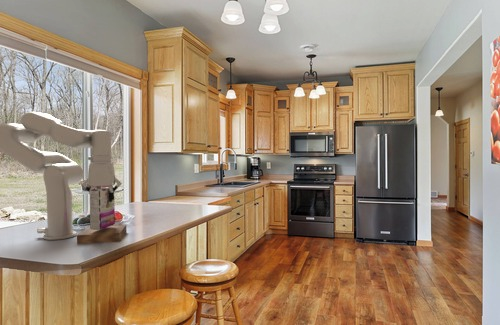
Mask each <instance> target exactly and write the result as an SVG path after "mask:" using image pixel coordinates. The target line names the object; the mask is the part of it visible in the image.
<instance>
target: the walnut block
mask: <svg viewBox="0 0 500 325" xmlns="http://www.w3.org/2000/svg"><path fill="white" fill-rule="evenodd" d="M126 234H127V224H123V225H121V224H120V225H117V224H116V225H111V226H109V227H106V228H104V229H101V230H93V229H90V226H88V227H86V228H84V229H83V230H82V231H80V232H79V233H77V235H76V245H85V244H86V245H87V244H101V243H116V242H117V243H119V242H121V240H122V239H123V238H124V237H125V236H126Z"/></svg>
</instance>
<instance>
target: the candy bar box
mask: <svg viewBox="0 0 500 325" xmlns="http://www.w3.org/2000/svg"><path fill="white" fill-rule="evenodd" d="M114 187H115V186H113V188H114ZM88 193H89V222H90V223H89V227H90V229H93V230H101V229H104V228H106V227H109V226H115V224H116V221H115V220H116V214H115V212H116V211H115V210H116V208H115V199H114V200H113V201H112V202H109V193H110V190H109V188H108V186H106V187H97V188H95V189H93V190H89V191H88Z"/></svg>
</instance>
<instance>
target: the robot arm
mask: <svg viewBox="0 0 500 325" xmlns="http://www.w3.org/2000/svg"><path fill="white" fill-rule="evenodd" d="M44 137H47V138H50V139H51V140H53V141H54V142H57V143H58V144H61V145H65V146H67V147H71V148H77V149H78V148H81V149H83V148H84V149H91V156H87V157H88V158H87V160H88V161H90V162H89V165H88V172H87V173H88V174H87V179H86V180H85V181H84V182H82V183H81V181H82V180H83V179H84V176H85V172H84V169H83V168H82V166H81V165H79V164H78V163H77V162H75V161H74V160H72V159H70V158H69V157H67V156H66V155H63V154H61V153H58V152H54V151H41V150H39V149H37V148H35V147H33V146H32V145H30V144H31V143H35V142H36V141H38V140H40V139H41V138H44ZM0 152H2V153H3V154H4V155H6V156H7V157H9V158H11V159H13V160H14V161H16V162H18V163H19V164H20V165H23V166H24V167H25V168H27V169H29V170H30V171H32V172H33V173H35V174H36V173H37V174H43V183H44V185H45V192H46V194H45V195H46V216H47V217H46V222H47V226H46V227H44V228H43V227H40V228H39V227H38V228H37V229H36V233H37V234H44V235H43V237H42V238H43V240H48V241H53V240H55V241H57V240H65V239H70V238H74V237H77V235H78V232H77V231H75V230H74V229H73V228H74V226H73V224H74V222H73V195H72V190H71V188H70V186H69V185H74V184H78V183H81V186H82V187H83V188H85V190H86V191H87V192H89V190H93V189H97V188H104V187H108V188H109V190H110V193H109V202H112V201H113V200H114V201H115V191H117V190H118V189H119V187H120V186H121V185H122V184H123V183H122V182H121V181H120V180H119V179H118V178H117V177H116V174H115V173H116V172H115V166H114V163H113V162H112V135H111V132H110V131H109V130H105V129H94V130H87V129H78V128H77V129H76V128H74V127H70V126H67V125H64V122H63V121H61V120H60V119H57V118H55V116H52V115H51V114H49V113H44V112H39V111H38V112H36V111H29V112H26V113H25V112H24V113H23V115H22V116H21V118H20V124H19V123H11V122H9V123H8V122H7V123H0ZM115 184H116V185H115ZM114 185H115V186H114ZM113 187H114V188H113Z"/></svg>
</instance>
